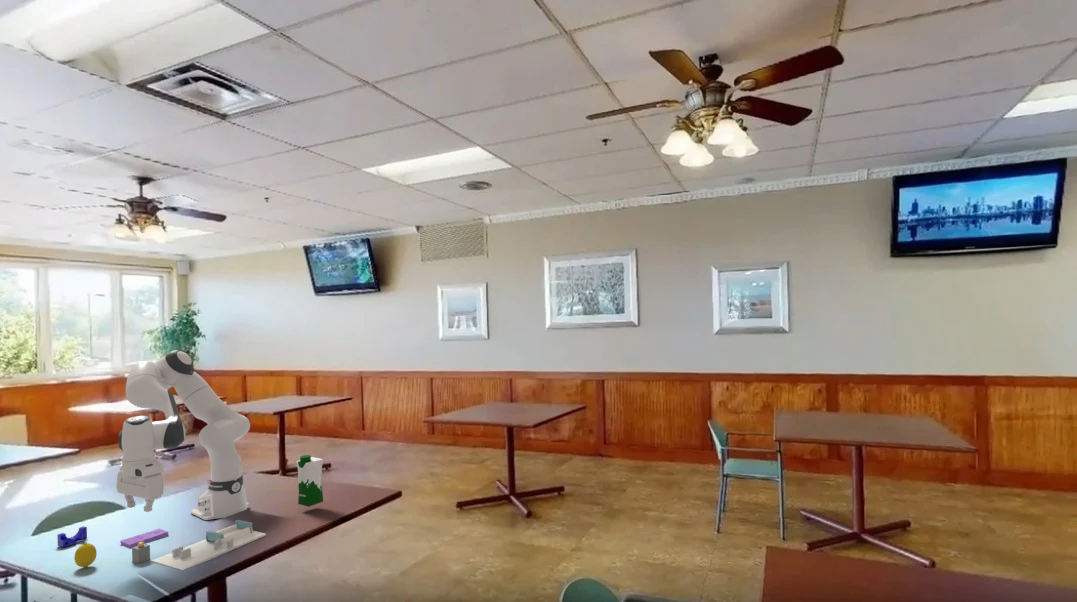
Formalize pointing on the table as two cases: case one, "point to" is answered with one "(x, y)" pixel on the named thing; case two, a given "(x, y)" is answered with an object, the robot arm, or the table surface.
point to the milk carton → (310, 480)
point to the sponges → (144, 538)
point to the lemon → (85, 555)
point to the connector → (141, 553)
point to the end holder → (230, 532)
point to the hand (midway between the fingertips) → (139, 509)
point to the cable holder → (65, 541)
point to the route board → (203, 551)
